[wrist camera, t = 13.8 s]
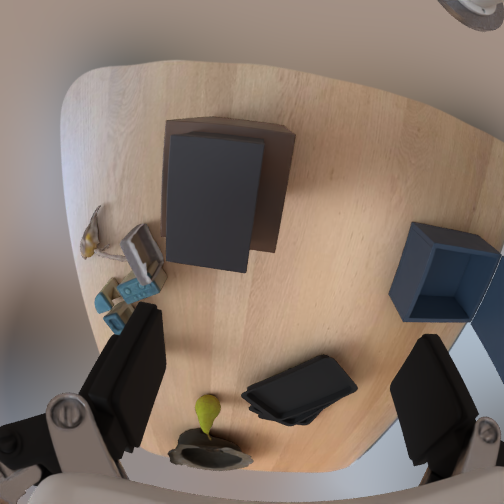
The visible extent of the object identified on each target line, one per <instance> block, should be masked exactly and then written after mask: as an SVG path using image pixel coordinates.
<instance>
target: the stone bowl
mask: <svg viewBox="0 0 504 504" xmlns="http://www.w3.org/2000/svg"><path fill="white" fill-rule="evenodd" d="M209 436H210V437H211V439H212V440H210V439H209V437H208V435H207V434H206V433H204V432H203V431H202V429H200V428H197V429H192V430H188V431H185V432H184V433H182V434H181V435H180V436H179V439H178V445H177V447H176V448H175V449H172V450H170V451H169V452H168V455H169V457H170V462H171V463H174V464H176V465H177V464H180V465H187V466H188V467H193V468H198V469H204V470H213V471H225V470H226V471H227V470H234V469H239V468H243V467H247V466H248V465H249V464H251V463H252V462H253V459H251V456H249V455H247V454H244V453H242V452H241V449H240V448H239V447H238V446H237V445H235V444H234V443H231V442H230V441H226V440H222V439H220V438H213V437H212V436H211V435H209Z"/></svg>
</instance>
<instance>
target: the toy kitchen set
mask: <svg viewBox="0 0 504 504" xmlns="http://www.w3.org/2000/svg"><path fill="white" fill-rule="evenodd" d="M157 266H158V262H157V261H156V260H155V261H153V262H152V263H151V265H150V267H149V268H148V270H147V276H148V277H149V278H150V279H151V278H152V276H153V274H154V272H155V270H156V268H157ZM166 279H167V275H166V274H165V272H164V271H163V269H162V267H161V269H160V271H159V273H158V275H157V277H156V278H155V279H154V280H153V281H152V282H151V283H150V284H147V285H144V286H142V285H141V284H140V283H139V281H138V280H137V278H136V276H135V274H134V272H133V270H132V271H131V272H130V273H129V274H128V276H127V277H126V278H125V279H124V280H123V281H122V282H121V283H120V284H119V285H118V283H117V281H116V280H115V278H111V279H110V280H109V281H108V283H107V284H106V285H105V286H104V287H103V289H102V290H101V291H100V292H99V294H98V295H97V296H96V298H95V308H96V310H97V312H98V313H99V314H100V313H103V312H106V311H109V310H110V312H109V313H108V314H107V315H106V316H104V318H103V319H104V321H105V322H106V323H107V325H108V326H109V327H110V329H111V330H112V331H113V332H114V334H117V335H120V333H121V332H122V330H123V328H124V326H125V325H126V323H127V321H128V320H129V318H130V316H131V315H132V313H133V311H134V308H133V307H132V305H131V303H133V302H136V301H139V300H141V299H144V298H147V297H150V296H152V295H155V294H158V293H159V292H160V291H161V289H162V287H163V285H164V283H165V280H166ZM120 296H122V297H123V299H124V300H125V301H123V302H121V303H118V304H116V305H115V306H114V303H113V302H112V300H113V299H115V298H118V297H120ZM113 306H114V307H113ZM112 307H113V308H112Z"/></svg>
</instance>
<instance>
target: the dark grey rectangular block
mask: <svg viewBox="0 0 504 504" xmlns="http://www.w3.org/2000/svg"><path fill="white" fill-rule="evenodd" d="M264 147H265V143H264V139H260V138H252V137H245V136H236V135H228V134H218V133H207V132H195V131H192V132H189V133H185V134H173V135H171V136H170V149H169V164H168V183H167V210H166V261H168V262H175V263H181V264H187V265H194V266H200V267H207V268H213V269H220V270H226V271H233V272H240V273H246V271H247V264H248V257H249V250H250V243H251V237H252V230H253V223H254V216H255V209H256V202H257V195H258V188H259V181H260V175H261V168H262V161H263V154H264Z"/></svg>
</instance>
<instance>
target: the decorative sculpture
mask: <svg viewBox="0 0 504 504" xmlns="http://www.w3.org/2000/svg"><path fill="white" fill-rule="evenodd" d="M100 207H101V205H100V206H98V208H97V209H96V210H95V212H94V214H93V216H92V218H91V221H90V224H89V225H88V227H87V228H86V230H85V232H84V235H83V237H82V239H81V243H80V250H81V255H82V257H83V258H84V259H85V260H86V259H87V257H91V256H92V255H93V254H94V253H96V254H97V255H98V256H101V257H106V258H109V259H113V260H119V261H128V263H129V265H130V266H131V268H132V270H133V272H134V274H135V276H136V278H137V280H138V281H139V283H140V284H141V285H142V286H144V285H147V284H150V283H151V282H152V281H153V280H154V279H155V278H156V277H157V275H158V273H159V271H160V269H161V267H162V265H163V264H164V261H163V255H162V253H161V252H160V249H159V248H158V245H157V243H156V242H155V241H154V240H153V237H152V235H151V233H150V230H149V227H148V226H147V224H140V225H137V226H136V227H134V228H133V229H132V230H131V231H130V232H129V233H128V234H127V235H126V236H125V237H124V239H123V240H122V241H121V242H120V246H121V249H122V251H123V253H124V255H125V256H122V255H110V254H108V253H105V252H103V251H104V250H105V249H106V248H109V246H110V244H107V245H105V246H104V247H103V248H102V249H97V244H98V243H100V242H99V240H98V226H97V218H96V216H97V212H98V210H99V208H100ZM155 260H156V261H157V262H158V266H157V268H156V270H155V272H154V274H153V276H152V278H151V279H150V278H149V277H148V276H147V270H148V268H149V267H150V265H151V263H152V262H153V261H155Z"/></svg>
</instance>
